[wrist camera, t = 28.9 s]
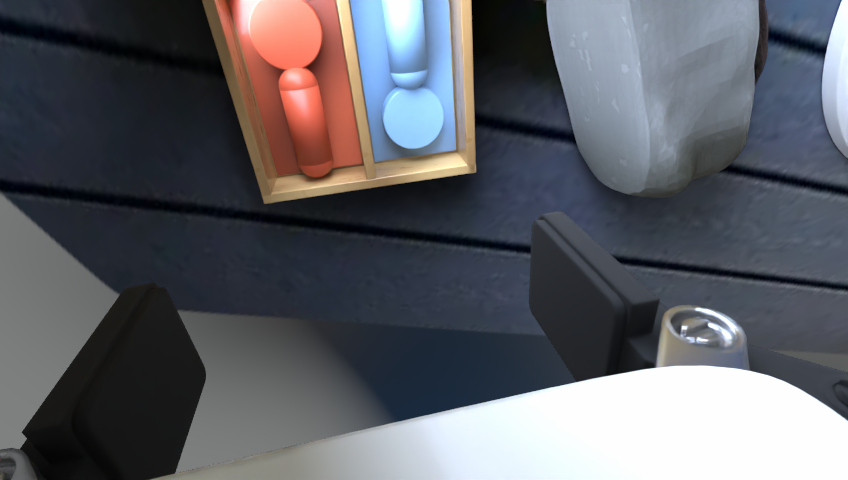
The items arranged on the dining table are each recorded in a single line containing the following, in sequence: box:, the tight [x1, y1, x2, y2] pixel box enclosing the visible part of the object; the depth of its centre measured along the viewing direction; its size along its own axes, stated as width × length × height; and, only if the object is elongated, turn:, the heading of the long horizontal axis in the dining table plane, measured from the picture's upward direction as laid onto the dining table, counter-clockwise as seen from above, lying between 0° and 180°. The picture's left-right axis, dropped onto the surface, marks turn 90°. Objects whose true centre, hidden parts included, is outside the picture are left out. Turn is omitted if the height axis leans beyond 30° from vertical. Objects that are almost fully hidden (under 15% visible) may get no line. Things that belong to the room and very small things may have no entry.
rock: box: [547, 0, 768, 197], centre depth 25 cm, size 18×11×8 cm, turn 23°
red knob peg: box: [249, 0, 334, 177], centre depth 25 cm, size 10×4×2 cm, turn 5°
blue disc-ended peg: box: [381, 0, 444, 149], centre depth 25 cm, size 10×4×2 cm, turn 5°
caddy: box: [202, 0, 476, 204], centre depth 25 cm, size 13×13×3 cm
